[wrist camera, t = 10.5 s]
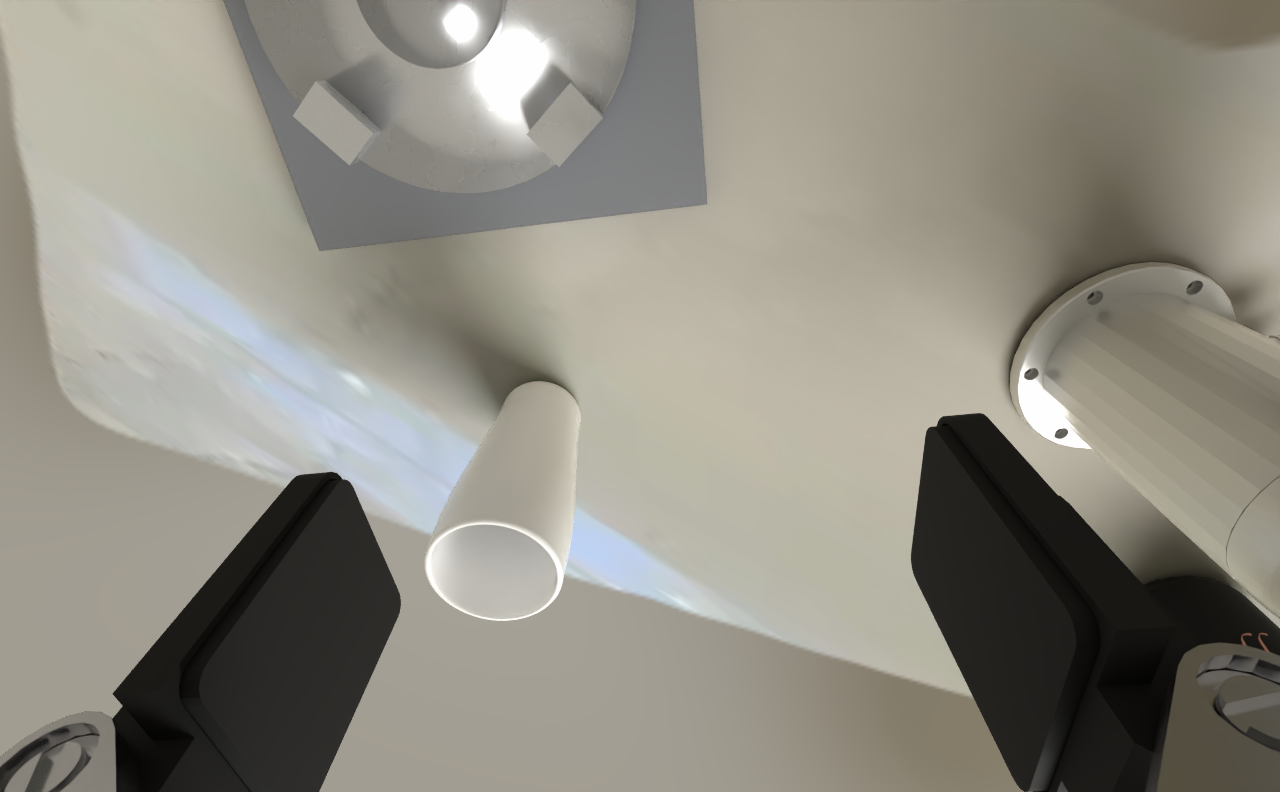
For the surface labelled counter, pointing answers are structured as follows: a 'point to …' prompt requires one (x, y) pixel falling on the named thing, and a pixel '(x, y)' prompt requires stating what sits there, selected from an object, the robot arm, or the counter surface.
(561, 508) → the drinking glass
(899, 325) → the counter surface
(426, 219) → the gray square base plate
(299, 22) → the round metal lid
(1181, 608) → the coffee jar
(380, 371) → the counter surface
